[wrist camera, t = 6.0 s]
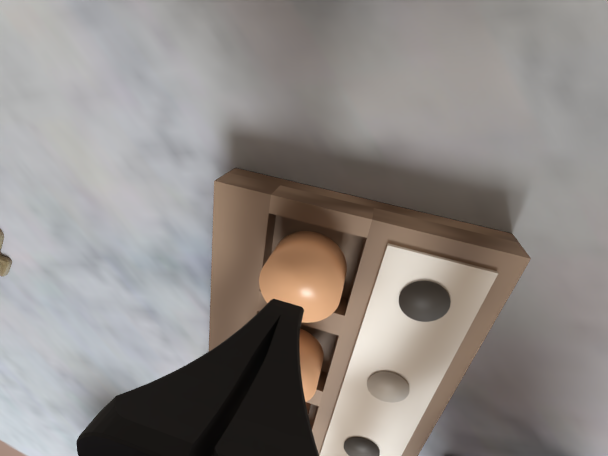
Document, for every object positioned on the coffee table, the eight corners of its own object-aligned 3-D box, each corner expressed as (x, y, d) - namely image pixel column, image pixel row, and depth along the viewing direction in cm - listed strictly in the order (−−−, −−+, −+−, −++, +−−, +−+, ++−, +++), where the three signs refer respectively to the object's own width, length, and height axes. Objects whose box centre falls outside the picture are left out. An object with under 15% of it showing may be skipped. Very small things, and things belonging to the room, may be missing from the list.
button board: (512, 233, 16) (533, 262, 14) (397, 454, 26) (398, 494, 23) (235, 167, 19) (211, 182, 16) (221, 393, 28) (204, 424, 25)
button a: (354, 242, 16) (349, 265, 14) (338, 304, 18) (331, 332, 16) (278, 222, 17) (263, 242, 15) (269, 284, 19) (255, 309, 17)
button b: (329, 336, 19) (322, 366, 17) (317, 381, 21) (309, 413, 19) (265, 317, 20) (251, 344, 18) (259, 362, 22) (245, 391, 20)
